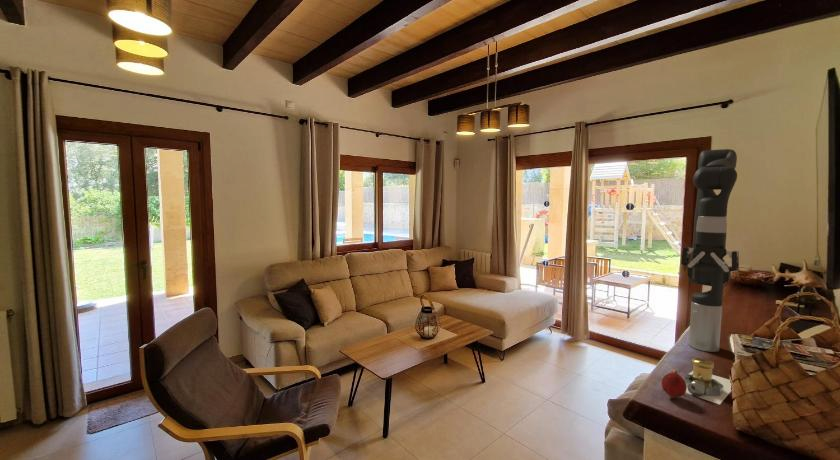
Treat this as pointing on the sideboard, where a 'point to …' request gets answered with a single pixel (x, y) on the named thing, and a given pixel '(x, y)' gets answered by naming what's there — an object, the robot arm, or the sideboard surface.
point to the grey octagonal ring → (703, 387)
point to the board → (716, 399)
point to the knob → (702, 370)
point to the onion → (674, 384)
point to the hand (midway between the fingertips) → (707, 281)
